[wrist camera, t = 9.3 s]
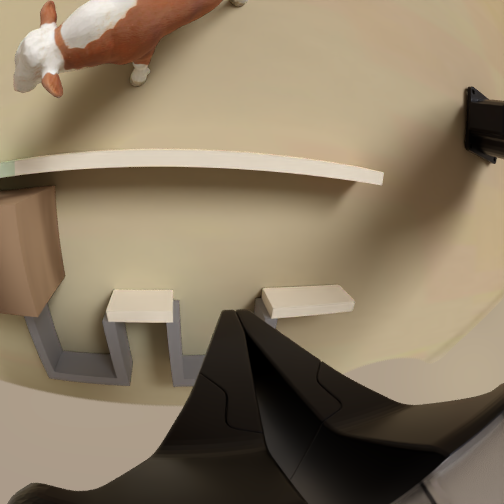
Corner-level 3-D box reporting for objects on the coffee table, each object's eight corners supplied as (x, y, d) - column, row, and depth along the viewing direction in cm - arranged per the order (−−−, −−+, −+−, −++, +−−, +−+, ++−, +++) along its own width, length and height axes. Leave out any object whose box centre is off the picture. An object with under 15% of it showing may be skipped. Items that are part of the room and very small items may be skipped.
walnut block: (55, 185, 14) (14, 204, 9) (66, 275, 16) (37, 317, 11) (-11, 191, 12) (-55, 212, 8) (2, 272, 14) (-31, 308, 10)
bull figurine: (54, 89, 11) (-27, 67, 4) (230, -38, 10) (264, -114, 3) (94, 135, 13) (20, 137, 6) (273, 3, 12) (334, -64, 5)
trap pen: (361, 166, 18) (388, 173, 15) (320, 350, 23) (335, 373, 20) (-25, 167, 11) (-50, 174, 8) (18, 351, 17) (6, 374, 14)
